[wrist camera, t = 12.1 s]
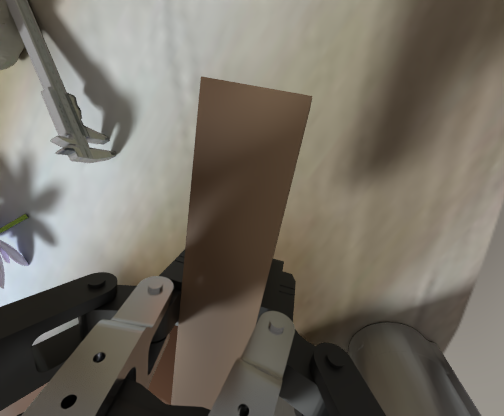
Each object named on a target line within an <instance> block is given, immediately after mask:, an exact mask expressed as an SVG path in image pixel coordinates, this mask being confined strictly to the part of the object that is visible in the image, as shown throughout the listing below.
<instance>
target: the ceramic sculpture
mask: <svg viewBox="0 0 504 416" xmlns="http://www.w3.org/2000/svg"><path fill="white" fill-rule="evenodd" d="M24 46H25V45H24V43H23V40H22V38H21V36H20V33H19V31H18V29H17V26H16V24H15V22H14V19H13V17H12V15H11V12H10V10H9V8H8V5H7V2H6V0H0V70H3V69H7V68H9V67H11V66H13V65H14V64H15V63H16V62H17V60H18V58H19V55H20V53H21V52H22V50H23V49H24Z"/></svg>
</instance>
